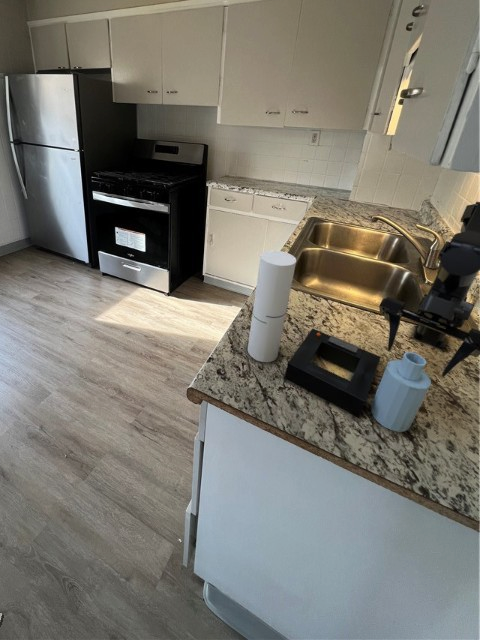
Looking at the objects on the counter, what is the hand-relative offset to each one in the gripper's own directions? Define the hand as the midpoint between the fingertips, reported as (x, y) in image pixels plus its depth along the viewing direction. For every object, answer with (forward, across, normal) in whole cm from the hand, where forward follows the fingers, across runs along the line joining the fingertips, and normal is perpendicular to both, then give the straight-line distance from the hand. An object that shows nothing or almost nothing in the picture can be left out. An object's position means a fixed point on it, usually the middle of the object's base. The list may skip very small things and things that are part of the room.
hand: (414, 362), depth 61 cm
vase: (+11, 0, +1) cm, 11 cm away
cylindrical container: (+14, -27, -2) cm, 30 cm away
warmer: (+10, -12, +2) cm, 16 cm away
